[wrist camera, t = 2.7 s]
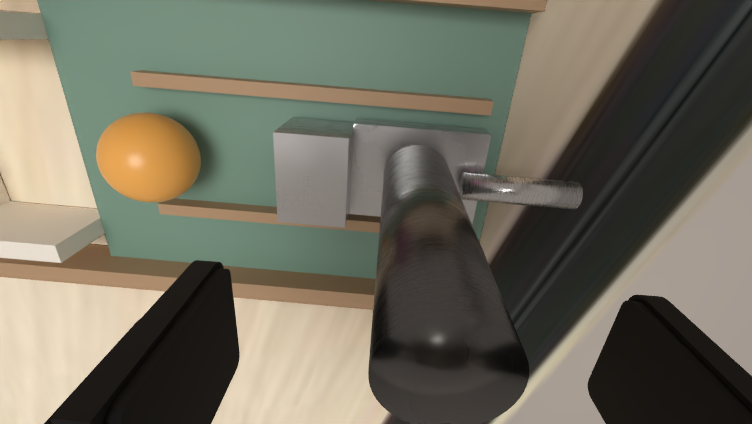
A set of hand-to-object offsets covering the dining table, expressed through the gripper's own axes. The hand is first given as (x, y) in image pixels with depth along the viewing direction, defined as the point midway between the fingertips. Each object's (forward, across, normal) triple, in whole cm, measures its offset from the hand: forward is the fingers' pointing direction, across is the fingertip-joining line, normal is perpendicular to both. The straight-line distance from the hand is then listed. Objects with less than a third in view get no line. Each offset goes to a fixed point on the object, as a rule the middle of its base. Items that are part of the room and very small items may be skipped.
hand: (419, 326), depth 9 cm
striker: (+10, 0, -1) cm, 10 cm away
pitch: (+12, +10, -1) cm, 16 cm away
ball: (+9, +12, -1) cm, 15 cm away
